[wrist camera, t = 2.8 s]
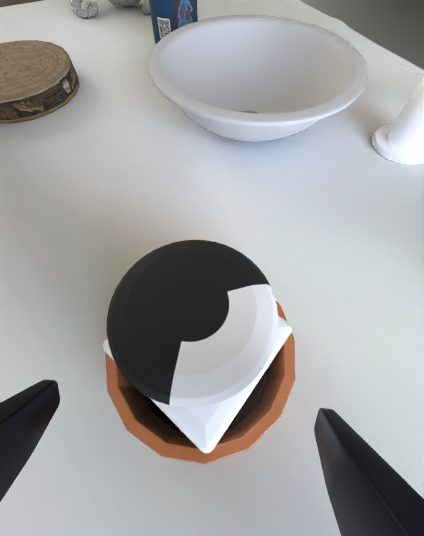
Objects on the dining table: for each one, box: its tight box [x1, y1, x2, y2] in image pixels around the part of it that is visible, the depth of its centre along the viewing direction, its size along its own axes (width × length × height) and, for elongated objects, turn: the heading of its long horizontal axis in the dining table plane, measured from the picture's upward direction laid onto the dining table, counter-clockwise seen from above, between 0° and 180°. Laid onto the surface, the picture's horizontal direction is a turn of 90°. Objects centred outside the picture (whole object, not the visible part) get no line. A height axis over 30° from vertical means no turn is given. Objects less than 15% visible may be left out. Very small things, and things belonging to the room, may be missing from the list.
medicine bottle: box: [103, 240, 292, 453], centre depth 13 cm, size 7×7×12 cm
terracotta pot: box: [105, 301, 295, 464], centre depth 17 cm, size 11×11×4 cm
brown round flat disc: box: [0, 41, 79, 123], centre depth 35 cm, size 16×16×3 cm
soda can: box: [149, 0, 198, 44], centre depth 36 cm, size 7×7×12 cm
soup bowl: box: [148, 15, 368, 142], centre depth 30 cm, size 24×24×7 cm
